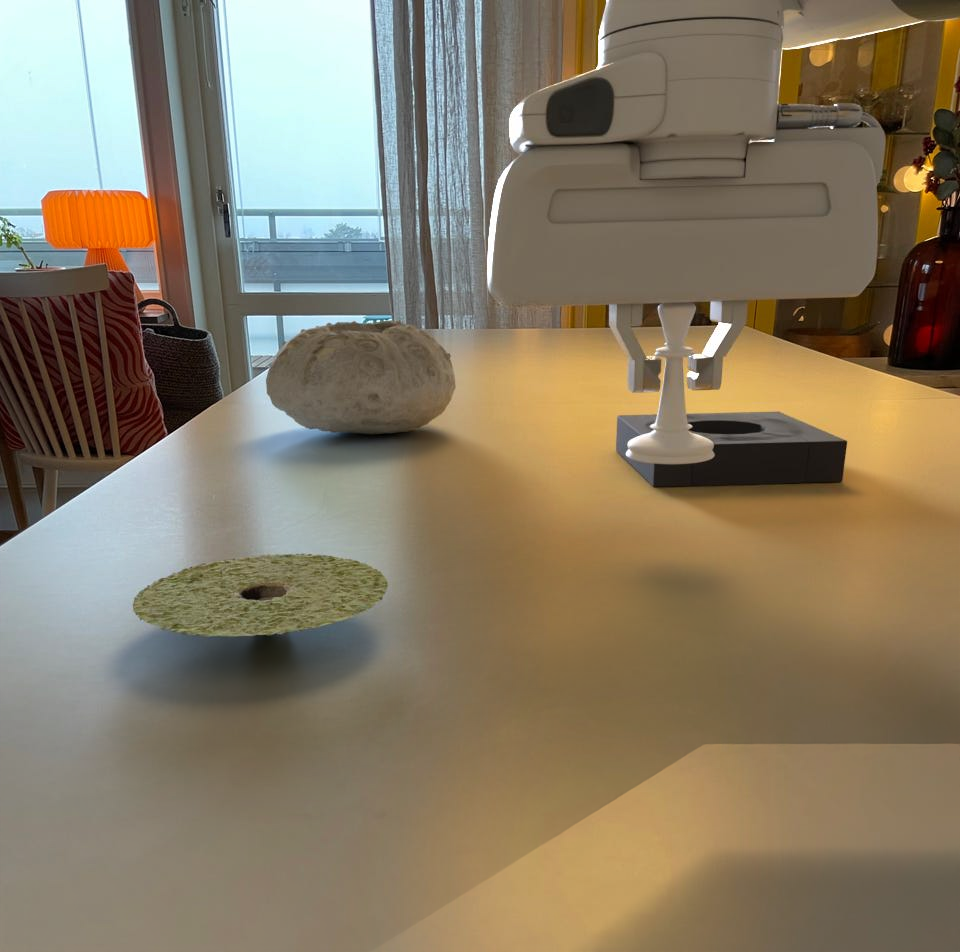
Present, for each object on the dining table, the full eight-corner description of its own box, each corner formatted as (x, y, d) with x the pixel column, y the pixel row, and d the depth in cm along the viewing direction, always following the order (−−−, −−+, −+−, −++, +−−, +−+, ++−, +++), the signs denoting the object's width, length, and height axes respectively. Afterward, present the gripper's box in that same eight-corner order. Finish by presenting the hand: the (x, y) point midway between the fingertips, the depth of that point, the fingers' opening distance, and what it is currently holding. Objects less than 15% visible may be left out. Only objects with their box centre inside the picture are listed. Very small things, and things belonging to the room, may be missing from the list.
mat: (440, 625, 44) (439, 585, 44) (226, 703, 37) (220, 656, 36) (296, 574, 52) (293, 539, 51) (94, 631, 44) (87, 590, 44)
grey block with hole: (775, 446, 84) (779, 411, 82) (842, 482, 71) (847, 440, 69) (615, 450, 83) (617, 415, 82) (653, 487, 70) (655, 445, 69)
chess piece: (616, 462, 53) (622, 268, 50) (635, 445, 58) (642, 266, 54) (707, 466, 52) (720, 266, 48) (720, 449, 56) (732, 264, 52)
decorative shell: (452, 447, 85) (449, 328, 81) (251, 449, 86) (239, 330, 82) (460, 415, 102) (458, 315, 98) (292, 417, 102) (283, 317, 98)
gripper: (862, 110, 52) (833, 376, 57) (480, 118, 51) (487, 389, 56) (920, 92, 46) (882, 390, 51) (490, 101, 45) (496, 405, 50)
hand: (672, 390), depth 53 cm, fingers closed on chess piece
